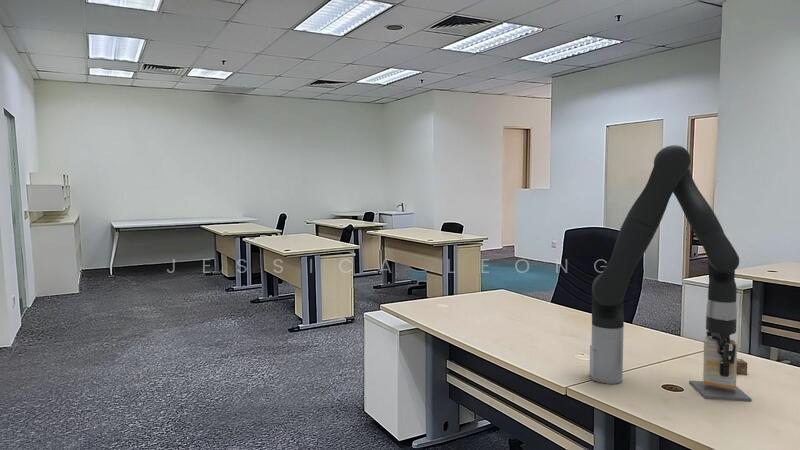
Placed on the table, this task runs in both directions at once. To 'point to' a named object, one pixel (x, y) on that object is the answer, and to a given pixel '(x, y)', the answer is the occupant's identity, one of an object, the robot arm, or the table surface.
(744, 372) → the letter cube
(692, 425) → the table surface
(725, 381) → the supplement box
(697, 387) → the rubber mat
